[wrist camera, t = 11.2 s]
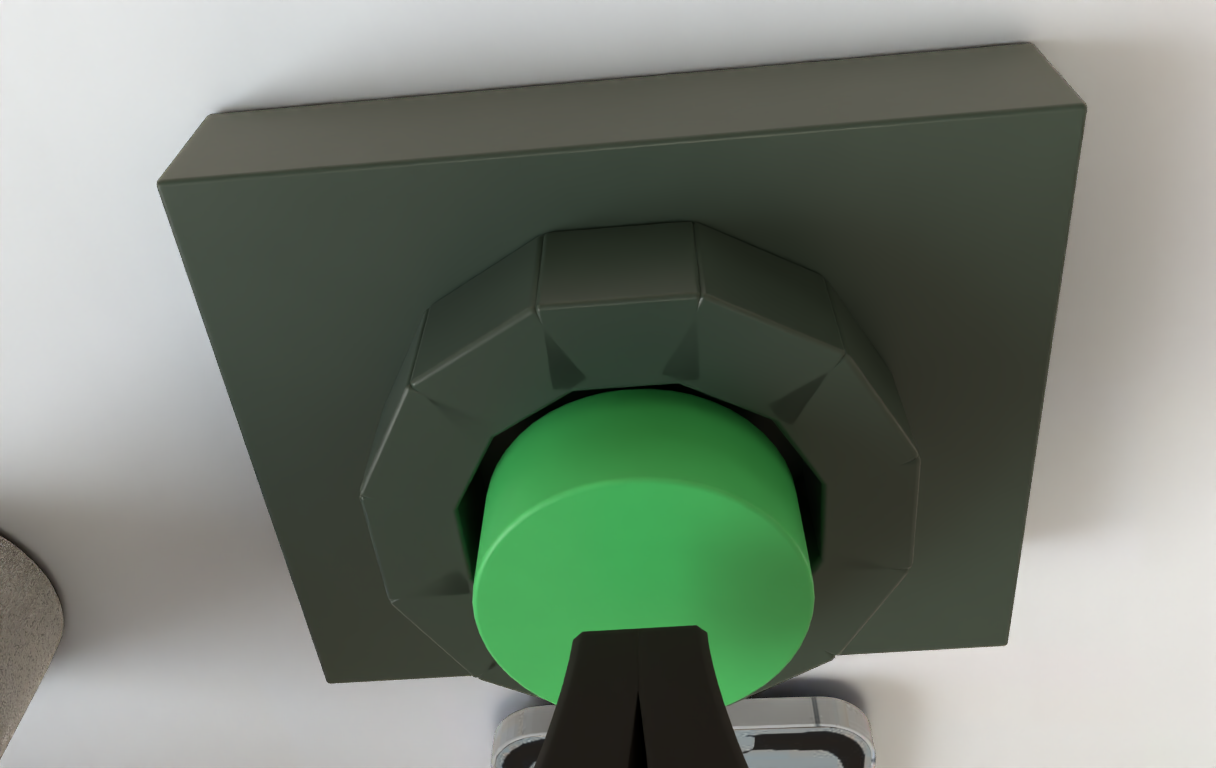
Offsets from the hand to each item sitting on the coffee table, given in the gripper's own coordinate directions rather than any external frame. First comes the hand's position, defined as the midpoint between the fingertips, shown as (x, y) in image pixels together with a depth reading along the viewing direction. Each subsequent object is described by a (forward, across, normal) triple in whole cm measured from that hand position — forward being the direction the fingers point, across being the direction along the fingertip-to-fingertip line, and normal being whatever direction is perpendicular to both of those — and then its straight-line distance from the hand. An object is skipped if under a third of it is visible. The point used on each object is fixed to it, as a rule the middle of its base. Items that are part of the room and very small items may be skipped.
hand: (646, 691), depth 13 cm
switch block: (+6, 0, 0) cm, 6 cm away
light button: (+3, 0, 0) cm, 3 cm away
